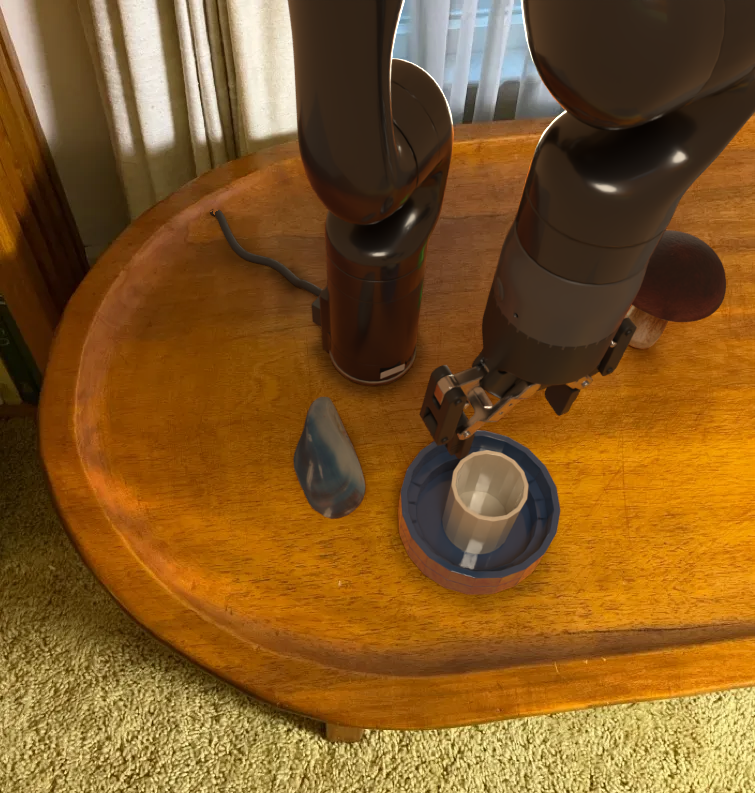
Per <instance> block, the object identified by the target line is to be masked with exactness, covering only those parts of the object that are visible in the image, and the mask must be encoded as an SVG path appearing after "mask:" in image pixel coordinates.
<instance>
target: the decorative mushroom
mask: <svg viewBox="0 0 755 793" xmlns="http://www.w3.org/2000/svg"><path fill="white" fill-rule="evenodd" d="M726 292H727V278H726V271H725V267H724V265H723V262H722V260H721V258H720V257H719V255H718V254H717V253H716V251H715V250H714V249H713V248H712V247H711V246H710V245H709V244H707V242H705V241H704V240H703V239H700V238H699V237H697V236H695V235H693V234H690V233H687V232H683V231H680V230H673V229H671V230H670V229H666V231H665V232H664V234H663V236H662V238H661V240H660V242H659V244H658V246H657V248H656V249H655V251H654V253H653V255H652V257H651V259H650V261H649V263H648V266H647V269H646V273H645V276H644V279H643V282H642V284H641V287H640V289H639V291H638V294H637V296H636V297H635V299H634V301H633V303H632V305H631V307H630V308H629V310H628V312H627V315H628V316H629V318H630V319H631V321H632V322H633V323H634V324H635V326H636V327H637V329H636V331H635V333H634V335H633V337H632V338H631V340H630V342H629V344H628V346H630V347H632V348H635V349H641V350H642V349H643V350H646V349H649V348H651V347H652V346H654V345H655V344H656V343H657V341H658V340H659V339H660V338H661V337H662V334H663V333H664V331H665V329H666V327H667V326H668V323H669V322H673V323H692V322H698V321H701V320H704V319H706V318H708V317H711V316H712V315H713V314H714V313H716V311H717V310H718V309H720V307H721V306H722V304H723V302H724V299H725V297H726Z"/></svg>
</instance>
